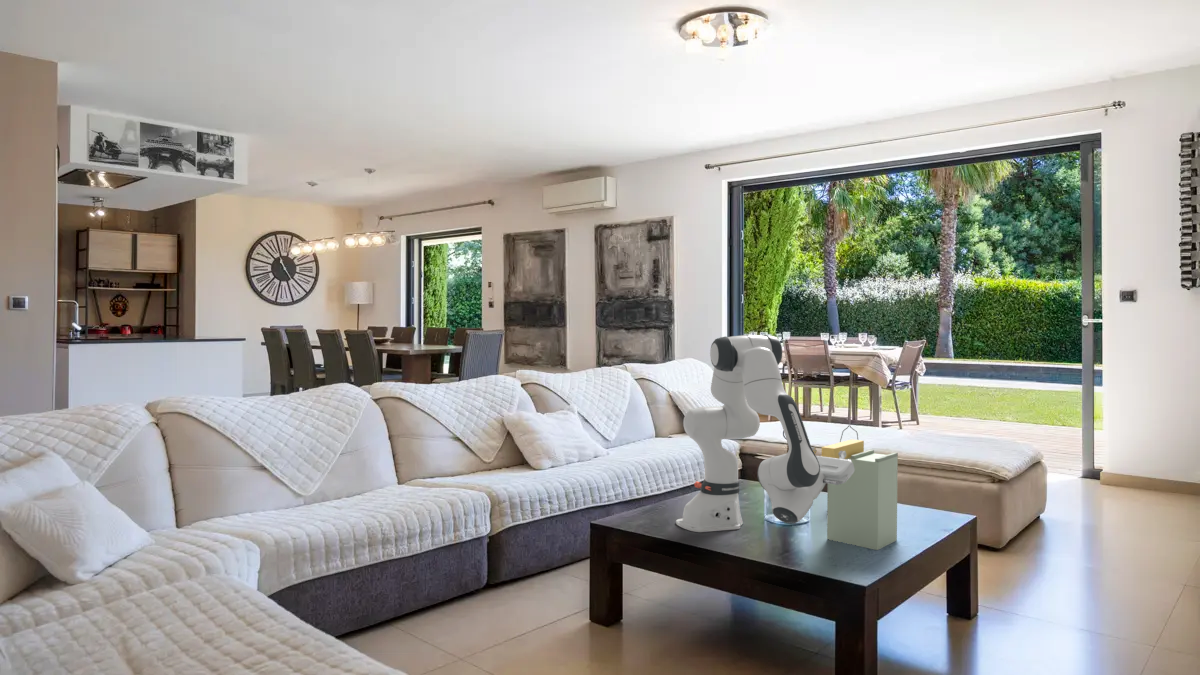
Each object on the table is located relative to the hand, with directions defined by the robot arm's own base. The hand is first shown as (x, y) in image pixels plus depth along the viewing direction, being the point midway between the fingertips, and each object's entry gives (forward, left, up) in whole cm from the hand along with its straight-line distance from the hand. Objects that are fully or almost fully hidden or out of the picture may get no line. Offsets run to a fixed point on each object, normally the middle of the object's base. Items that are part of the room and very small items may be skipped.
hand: (828, 450), depth 230 cm
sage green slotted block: (+15, +2, -29) cm, 33 cm away
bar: (+9, +3, -3) cm, 10 cm away
